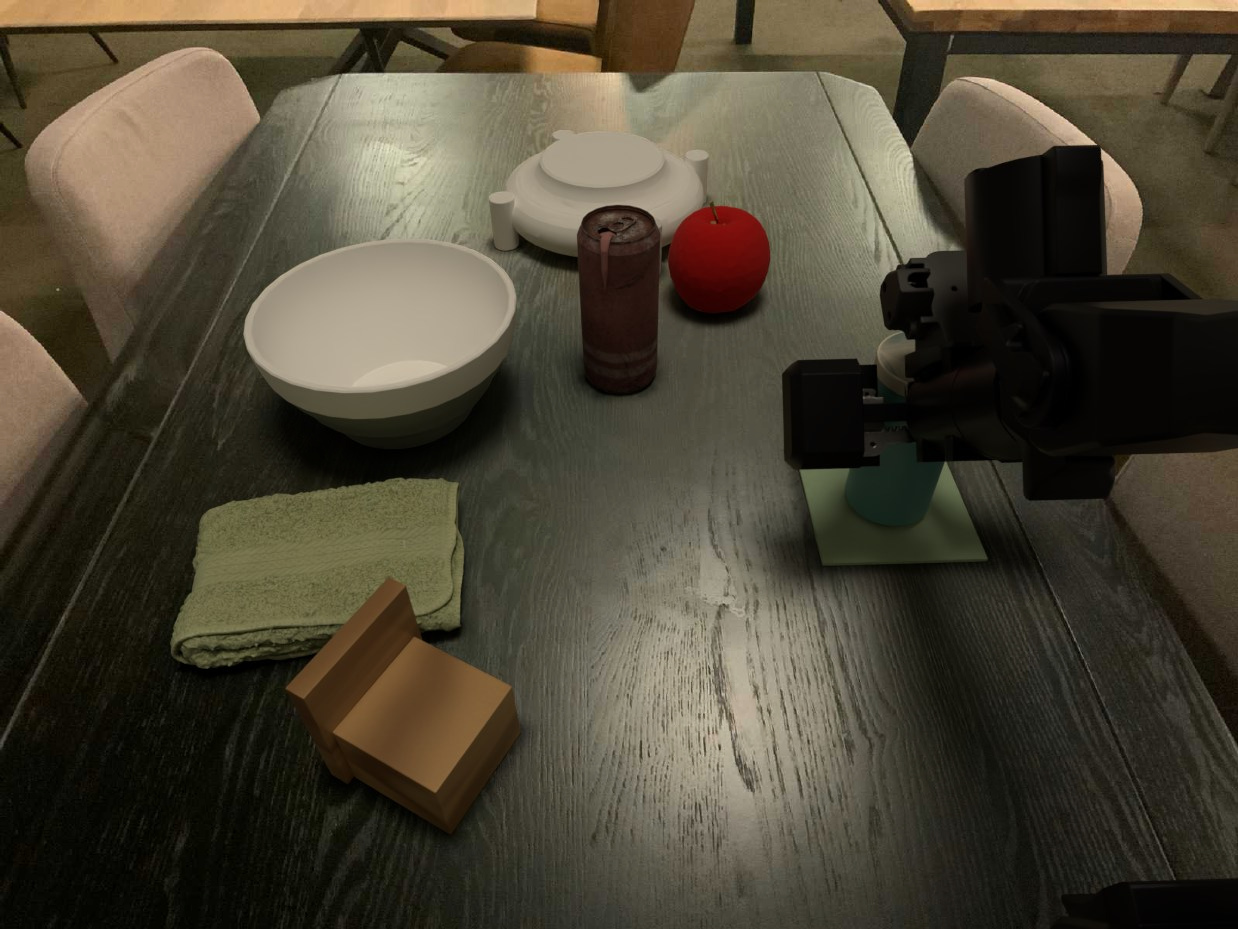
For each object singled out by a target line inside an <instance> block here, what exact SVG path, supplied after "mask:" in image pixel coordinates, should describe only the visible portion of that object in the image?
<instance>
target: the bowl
mask: <svg viewBox="0 0 1238 929" xmlns="http://www.w3.org/2000/svg"><path fill="white" fill-rule="evenodd" d="M517 299H518V298H517V292H516V288H515V285H514V282H513V280H512V279H511V277H510V276H509V275H508V273H507V272H506V270H505V269H504V268H503V267H502V266H501V265H499V264H498V263H497V262H496V261H494V260H493V259H492V258H490V257H488V256H486V255H484V254H482V253H481V252H479V251H477V250H475V249H472V248H470V247H466V246H464V245H460V244H457V243H452V242H448V241H442V240H437V239H427V238H426V239H425V238H414V237H413V238H388V239H379V240H371V241H364V242H361V243H356V244H351V245H347V246H342V247H340V248H337V249H333V250H330V251H328V252H325V253H321V254H319V255H316V256H315V257H312V258H309V259H308V260H306V261H303V262H301V263H299V264H298V265H295V266H294V267H293V268H291V269H289V270H287V271H286V272H284V273H283V274H281V275H279V276H278V277H277V278H276V279H275V280H274V281H272V282H271V283H270V284H268V285H267V286H266V287H264V289H263V290H262V292H261V293H260V294H259V296H258V297H256V299H255V301H253V303H252V304H251V306H250V308H249V311H248V313H247V315H246V316H245V319H244V326H243V338H244V343H245V347H246V348H245V349H246V351H247V352H248V354H249V357H250V359H251V360H252V363H253V364H254V365H255V367H256V369H257V370H258V371H259V373H260V374H261V376H262V377H263V379H264V380H265V381H266V383H267V384H268V385H269V387H270V388H271V389H272V391H274V392H275V393H276V394H277V395H279V396H280V397H281V398H282V399H284V400H285V401H286V402H288V403H290V404H291V405H293V406H294V407H295V408H296V409H298V410H300V411H301V412H302V413H304V414H306V415H308V416H311V417H312V418H314V419H315V420H317V421H318V422H319V423H320V424H322V425H324V426H325V427H327V428H330V429H332V430H334V431H336V432H339V433H341V434H343V435H345V436H346V437H348V438H349V439H350V440H352V441H354V442H356V443H358V444H360V445H362V446H366V447H369V448H374V449H382V450H404V449H410V448H416V447H420V446H424V445H427V444H430V443H433V442H435V441H437V440H440V439H441V438H443V437H445V436H448V434H450V433H452V432H453V431H455V430H456V429H457V428H459V426H461V425H462V424H463V423H464V422H465V421H466V419H467V418H468V417H469V415H470V414H471V412H472V410H473V407H474V406H475V405H476V404H477V403H478V401H479V400H481V398H482V397H483V396H484V394H485V392H486V391H488V388H489V386H490V385H491V382H492V380H493V378H494V377H495V375H496V374H497V373H498V372H499V370H500V368H501V366H502V364H503V362H504V361H505V358H506V357H507V356H508V353H509V351H510V348H511V346H512V344H513V342H514V337H515V331H516V325H517V314H518V304H517V302H518V301H517Z"/></svg>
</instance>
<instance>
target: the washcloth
mask: <svg viewBox="0 0 1238 929" xmlns="http://www.w3.org/2000/svg"><path fill="white" fill-rule="evenodd" d="M460 493H461V490H460V483H459V482H457V481H453V482H452V481H448V480H446V479H445V478H443V477H440V478H429V479H425V478H411V477H410V478H406V479H405V478H404V477H395V478H389V479H386V480H385V481H378V480H377V481H375V482H373V483H371V482H369V481H368V482H366V483H365V484H364V483H363V484H355V485H354V484H353V485H348V486H345V485H342V486H340V487H337V488H333V487H330V488H328V489H327V488H326V489H318V490H313V491H310V492H309V491H306V492H302V491H301V492H298V493H296V494H289V493H274V494H273V495H264V496H262V497H261V496H260V497H255V498H249V499H248V500H247V499H246V500H245V499H243V500H237V501H236V500H231V501H230V502H227V503H225V504H222V505H219V506H215V507H212V508H210V509H208V510H207V511H206V512H205V513H204V514H203V515H202V516H201V518H200V520H199V522H198V524H199V527H198V534H197V540H196V547H195V556H194V557H193V559H192V566H193V573H195V574H194V576H193V583H192V587H191V592H190V593H189V594H188V595H187V596H186V598H185V599H184V601H183V602H184V603H183V605H181V606H180V608H179V611H180V612H179V613H178V615H177V618H176V621H175V622H174V625H173V628H172V629H173V632H172V637H171V638H170V655H171V657H172V658H173V659H175V660H176V661H177V662H180V663H183V664H186V665H190V666H191V665H192V666H196V667H197V668H199V669H205V670H206V669H216V668H217V669H219V668H220V667H222V668H223V667H232V666H236V665H239V664H241V663H242V662H255V661H265V660H274V661H283V660H288V659H295V658H301V657H307V656H311V655H316V654H317V653H318V652H319V651H320V650H321V649H322V648H323V647H324V646H325V645H326V644H327V643H328V642H329V641H330V639H331V638H332V637H333V636H334V635H335V634H336V633H337V632H338V631H339V630H340V629H341V628H342V627H343V626H344V624H345V623H346V622H347V621H348V620H349V619H350V618H351V617H352V616H353V615H354V614H355V613H356V612H357V610H358V609H359V608H360V607H361V606H362V605H363V604H364V603H365V602H366V601H367V600H368V599H369V598H370V597H371V595H372V594H373V593H374V592H375V591H376V590H377V589H378V588H379V587H380V586H381V585H382V584H383V583H384V582H385V580H386V579H387V578H388V577H389V578H391V579H393V580H395V581H398V582H400V583H402V584H404V585H406V588H407V591H408V594H409V597H410V601H411V604H412V607H413V611H414V614H415V617H416V620H417V624H418V627H419V630H420V634H423V633H424V632H432V631H434V632H436V631H445V632H451V631H453V630H455V629H458V628H461V601H462V599H461V592H462V583H463V575H464V565H465V548H464V542H463V537H462V535H461V533H460V531H459V503H460V502H459V501H460Z"/></svg>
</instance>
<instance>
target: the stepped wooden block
mask: <svg viewBox="0 0 1238 929" xmlns="http://www.w3.org/2000/svg"><path fill="white" fill-rule="evenodd" d="M285 691H286V693H287V695H288V697H289V698H290V700H291V702H292V704H293V706H294V708H295V709H296V712H297V713H298V715H299V717H300V719H301V721H302V723H303V724H304V726H305V728H306V730H307V731H308V733H309V735H310V738H311V739H312V741H313V743H314V745H315V746H316V748H317V750H318V753H319V754H320V756H321V757H322V760H323V761H324V764H325V766H326V767H327V769H328V770H329V773H330V774H331V775H332V776H333V777H335V778H336V779H338V780H340V781H341V782H343V783H345V784H346V785H349V784H350V782H352V780H353V779H354V778H355V779H357V780H359V781H360V782H362V783H364V784H365V785H367V786H369V787H370V788H372V789H374V790H375V791H377V792H379V793H380V794H382V795H383V796H385V797H387V798H388V799H389V800H392V801H393V802H395V803H397V804H399V805H400V806H402V807H404V808H405V809H407V810H409V811H410V812H412V813H413V814H415V815H416V816H419V817H420V818H422V819H423V820H425V821H427V822H428V823H430V824H432V825H433V826H435V827H437V828H439V829H440V830H441V831H443V832H445V833H447V834H448V835H452V834H453V832H454V831H455V830H456V828H457V827H458V826H459V824H460V822H461V821H462V820H463V818H464V817H465V815H466V814H467V813H468V810H469V809H470V808H471V806H472V805H473V803H474V802H475V800H476V799H477V798H478V796H479V794H480V793H481V792H482V790H483V788H484V787H485V786H486V784H487V783H488V781H489V780H490V779H491V777H492V775H493V774H494V773H495V771H496V770H497V768H498V767H499V765H500V764H501V762H502V761H503V760H504V758H505V757H506V755H507V753H508V752H509V751H510V749H511V748H512V746H513V745H514V743H515V742H516V741H517V739H518V738H519V736H520V735H521V726H520V721H519V716H518V711H517V706H516V700H515V695H514V688H513V686H512V685H510V684H509V683H506V682H504V681H503V680H500V679H498V678H497V677H494V676H492V675H490V674H488V673H487V672H485V671H483V670H481V669H478V668H477V667H475V666H474V665H473V666H472V665H471V664H469V663H467V662H465V661H463V660H461V659H459V658H457V657H455V656H453V655H451V654H449V653H447V652H446V651H443V650H442V649H440V648H437V647H435V646H434V645H432V644H430V643H428V642H426V641H424V640H423V636H422V633H420V630H419V627H418V624H417V620H416V617H415V614H414V611H413V607H412V604H411V601H410V597H409V594H408V591H407V588H406V585H404V584H402V583H400V582H398V581H395V580H393V579H391V578H389V577H388V578H387V579H386V580H385V582H384V583H383V584H382V585H381V586H380V587H379V588H378V589H377V590H376V591H375V592H374V593H373V594H372V595H371V597H370V598H369V599H368V600H367V601H366V602H365V603H364V604H363V605H362V606H361V607H360V608H359V609H358V610H357V612H356V613H355V614H354V615H353V616H352V617H351V618H350V619H349V620H348V621H347V622H346V623H345V624H344V626H343V627H342V628H341V629H340V630H339V631H338V632H337V633H336V634H335V635H334V636H333V637H332V638H331V639H330V641H329V642H328V643H327V644H326V645H325V646H324V647H323V648H322V649H321V650H320V651H319V652H318V653H316V654H315V655H314V656H313V658H312V659H311V660H310V661H309V662H308V663H307V664H306V665H305V666H304V667H303V668H302V669H301V670H300V671H299V673H298V674H297V675H296V676H295V677H294V678H293V679H292V680H291V681H290V682H289V684H287V685H286V687H285Z"/></svg>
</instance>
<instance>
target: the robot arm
mask: <svg viewBox="0 0 1238 929" xmlns="http://www.w3.org/2000/svg"><path fill="white" fill-rule="evenodd" d="M1104 167H1105V166H1104V161H1103V158H1102V147H1101V146H1100V145H1099V144H1075V145H1074V144H1073V145H1071V144H1070V145H1069V144H1068V145H1053V146H1052V147H1050V148H1049V149H1047V150H1046V151H1045V152H1043V153H1042V154H1036V155H1030V156H1025V157H1019V158H1015V159H1011V160H1008V161H1003V162H1001V163H997V164H995V165H991V166H989V167H979V168H975V169H973V170H972V171H971V172H969V173H968V174H967V175H966V176H965V177H964V179H963V181H964V182H963V185H964V186H963V187H964V188H963V189H964V191H963V192H964V220H965V222H964V224H965V245H966V246H965V247H966V250H965V249H963V250H959V249H957V250H936V251H932V252H930V253H929V254H928V255H927V256H925V257H910V258H909V259H908V261H907V263H905V264H903V263H902V264H899V263H898V264H897V265H896V267H895V270H892V271H889V272H887V274H886V275H885V277H884V278H883V281H882V282H881V284H880V286H879V287H880V288H879V300H880V306H881V313H882V320H883V325H884V328H886V329H887V330H888V331H899V332H904V333H905V337H906V339H907V340H915V351H914V352H911V353H909V354H906V355H905V377H906V378H914V381H911V382H907V383H906V384H905V387H904V390H905V397H906V403H884V402H883V397H878V380H877V364H874V363H873V364H860V362H859V360H858V358H823V359H822V358H821V359H820V358H819V359H816V358H815V359H797V360H795V361H793V362H791V364H789V366H788V367H787V368H786V369H785V370H784V371H783V372H782V373H781V390H782V391H781V392H782V424H783V425H782V428H783V459H784V460H783V461H784V462H785V463H786V464H787V465H788V466H790V468H791V469H792V470H793V471H799V470H810V469H847V468H861V467H871V466H880V454H881V453H882V452H883V450H884V448H885V446H886V445H887V444H908V443H916V463H918V462H947V463H952V462H989V461H997V462H999V463H1001V464H1013V463H1016V464H1017V463H1019V464H1020V463H1021V468H1022V469H1021V470H1022V471H1021V472H1022V493H1023V497H1024V498H1025V499H1026V500H1027V501H1029V502H1035V501H1036V502H1038V501H1039V502H1040V501H1041V502H1042V501H1072V500H1073V501H1076V500H1078V501H1079V500H1080V501H1081V500H1103V499H1107V498H1108V497H1110V495H1111V492H1112V490H1113V488H1114V486H1115V483H1116V473H1115V472H1116V470H1115V465H1116V457H1117V456H1127V455H1128V456H1129V455H1130V456H1131V455H1133V456H1134V455H1164V454H1165V455H1166V454H1167V455H1168V454H1172V455H1173V454H1207V453H1216V452H1224V451H1230V450H1235V449H1236V450H1237V449H1238V300H1236V299H1235V300H1234V299H1222V298H1206V299H1205V298H1203V297H1201V296H1200V295H1199V294H1198V293H1196V292H1195V291H1194V290H1193V289H1191V288H1190V287H1189V286H1187V285H1186V284H1185V283H1183V282H1182V281H1181V280H1179V279H1178V278H1177V277H1175V276H1174V275H1173V274H1171V273H1170V272H1167V273H1166V272H1163V273H1161V272H1160V273H1159V272H1158V273H1157V272H1156V273H1125V274H1123V273H1122V274H1121V273H1120V274H1118V273H1117V274H1108V255H1107V254H1108V253H1107V252H1108V250H1107V249H1108V248H1107V224H1106V220H1107V219H1106V194H1105V168H1104ZM884 422H906V423H907V426H908V429H907V426H902V429H900V426H896V427H895V430H894V429H893V426H889V427H888V431H887V429H886V426H884ZM1060 901H1061V904H1062V905H1063V908H1064V909H1065V911H1066V913H1067V915H1065V916H1064V915H1063V916H1059V917H1058V918H1057V919H1056V920H1054V921H1053V923H1052V924H1051V926H1050V928H1049V929H1238V877H1229V878H1227V877H1226V878H1225V877H1224V878H1196V879H1195V878H1194V879H1164V880H1163V879H1162V880H1161V879H1160V880H1135V881H1134V880H1133V881H1132V880H1131V881H1130V880H1129V881H1119V882H1116V883H1114V884H1113V883H1112V884H1111V885H1108V886H1105V887H1103V888H1101V889H1099V890H1098V891H1097V892H1092V893H1091V892H1090V893H1063V894H1061V895H1060Z"/></svg>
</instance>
